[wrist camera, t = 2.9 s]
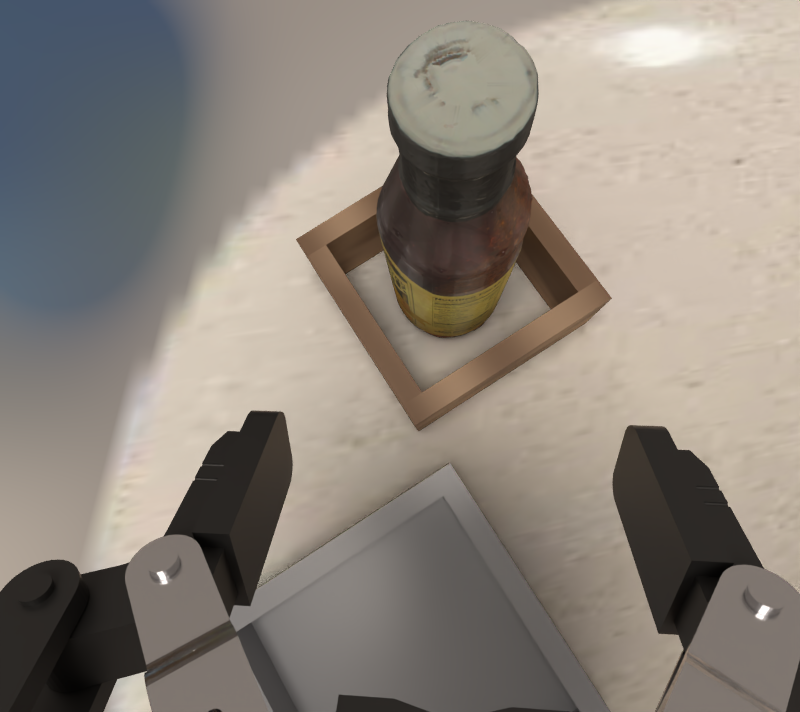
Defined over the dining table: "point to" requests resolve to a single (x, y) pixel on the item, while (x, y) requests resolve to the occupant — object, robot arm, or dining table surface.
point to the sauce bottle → (457, 173)
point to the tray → (411, 617)
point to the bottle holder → (570, 308)
